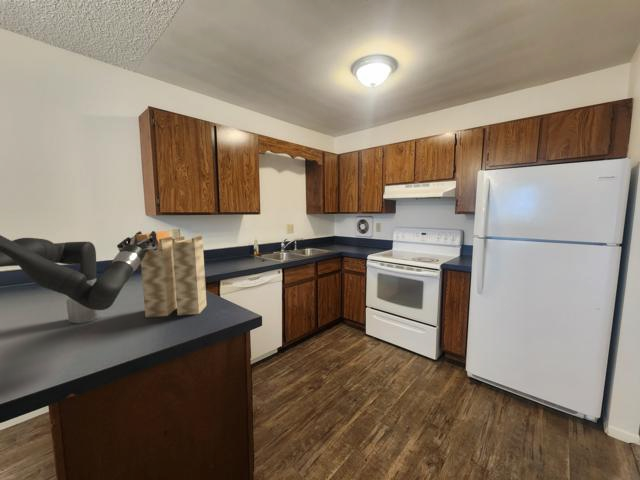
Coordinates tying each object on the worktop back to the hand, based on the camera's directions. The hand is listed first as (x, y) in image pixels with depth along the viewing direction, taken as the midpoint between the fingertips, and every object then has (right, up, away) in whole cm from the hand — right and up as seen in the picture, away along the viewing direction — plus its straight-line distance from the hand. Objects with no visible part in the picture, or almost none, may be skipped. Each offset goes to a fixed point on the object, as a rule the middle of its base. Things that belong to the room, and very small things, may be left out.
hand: (147, 233), depth 108 cm
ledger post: (+13, -35, +13) cm, 39 cm away
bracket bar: (0, -4, +6) cm, 7 cm away
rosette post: (0, -35, +11) cm, 37 cm away
